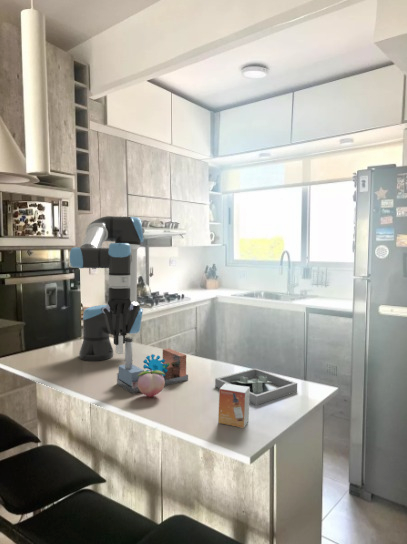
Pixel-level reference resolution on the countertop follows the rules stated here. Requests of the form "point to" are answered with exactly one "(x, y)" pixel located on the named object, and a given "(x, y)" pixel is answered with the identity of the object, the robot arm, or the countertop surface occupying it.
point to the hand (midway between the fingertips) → (119, 353)
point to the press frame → (171, 376)
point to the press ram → (129, 365)
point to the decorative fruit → (151, 382)
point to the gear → (155, 364)
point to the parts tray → (261, 398)
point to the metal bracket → (254, 383)
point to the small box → (234, 405)
